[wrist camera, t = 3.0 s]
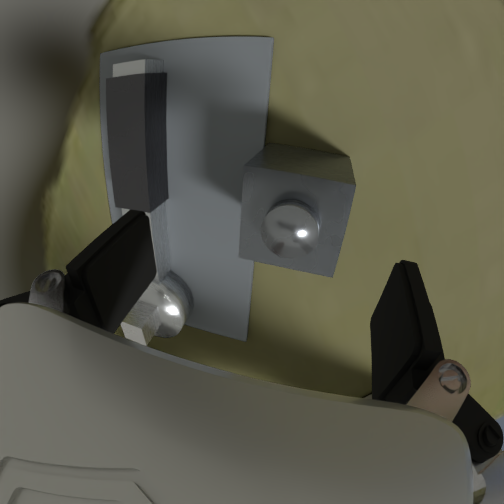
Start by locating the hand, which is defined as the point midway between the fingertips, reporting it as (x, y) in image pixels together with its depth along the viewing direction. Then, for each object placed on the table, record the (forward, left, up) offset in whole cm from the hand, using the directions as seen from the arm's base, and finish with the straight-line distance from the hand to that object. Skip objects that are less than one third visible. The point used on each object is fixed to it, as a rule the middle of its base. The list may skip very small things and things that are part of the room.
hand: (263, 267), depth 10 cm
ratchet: (+12, +5, -10) cm, 16 cm away
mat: (+10, +4, -11) cm, 15 cm away
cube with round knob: (0, +1, -11) cm, 11 cm away
